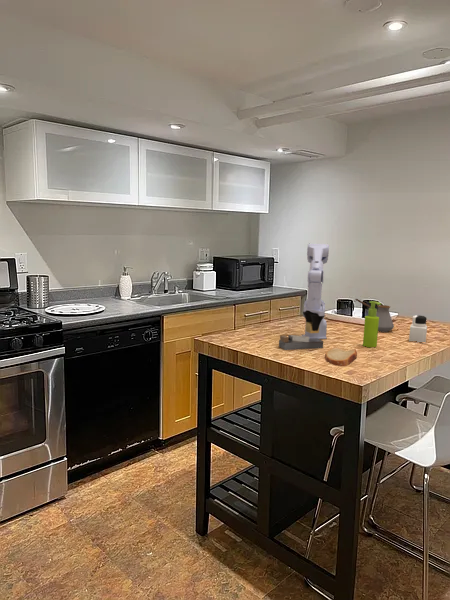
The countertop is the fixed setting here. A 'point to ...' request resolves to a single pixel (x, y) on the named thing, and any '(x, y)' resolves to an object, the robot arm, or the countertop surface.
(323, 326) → the robot arm
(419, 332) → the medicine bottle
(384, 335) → the countertop surface
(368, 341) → the soap dispenser
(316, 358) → the countertop surface
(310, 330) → the brushed gold cube
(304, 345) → the grey piece
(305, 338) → the steel lever
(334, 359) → the bread slice
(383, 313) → the coffee pot
